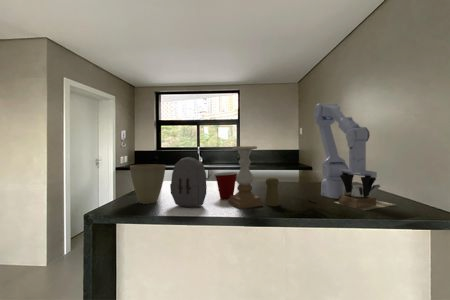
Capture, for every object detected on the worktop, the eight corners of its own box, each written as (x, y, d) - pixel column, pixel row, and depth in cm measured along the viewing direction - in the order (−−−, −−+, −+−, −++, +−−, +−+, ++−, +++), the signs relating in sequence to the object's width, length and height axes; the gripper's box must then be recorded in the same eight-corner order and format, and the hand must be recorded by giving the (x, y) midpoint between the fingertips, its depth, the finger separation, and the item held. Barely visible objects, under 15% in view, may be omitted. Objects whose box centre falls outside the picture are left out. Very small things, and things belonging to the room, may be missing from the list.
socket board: (333, 205, 105) (333, 194, 105) (363, 200, 113) (363, 190, 113) (364, 213, 93) (364, 201, 92) (396, 207, 100) (396, 196, 100)
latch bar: (360, 200, 108) (359, 198, 109) (365, 199, 110) (364, 197, 110) (375, 187, 102) (373, 184, 103) (380, 186, 104) (378, 184, 104)
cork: (279, 206, 104) (279, 178, 103) (264, 205, 105) (264, 178, 105) (279, 203, 110) (279, 176, 109) (265, 202, 111) (265, 176, 111)
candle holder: (239, 209, 100) (238, 146, 100) (227, 203, 110) (226, 146, 110) (263, 206, 105) (263, 146, 104) (250, 200, 115) (249, 146, 114)
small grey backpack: (209, 205, 106) (209, 156, 106) (201, 210, 98) (201, 157, 98) (176, 203, 111) (175, 156, 110) (166, 208, 103) (165, 157, 102)
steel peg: (348, 203, 102) (349, 185, 102) (356, 202, 104) (357, 185, 103) (358, 206, 98) (358, 187, 98) (366, 205, 100) (367, 186, 99)
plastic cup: (223, 195, 127) (223, 170, 127) (242, 197, 121) (242, 171, 120) (209, 199, 118) (209, 172, 118) (229, 202, 112) (228, 174, 112)
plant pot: (153, 207, 104) (152, 167, 104) (122, 204, 109) (122, 166, 109) (172, 199, 118) (172, 164, 118) (144, 197, 123) (144, 163, 123)
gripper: (334, 158, 105) (334, 191, 106) (367, 160, 92) (367, 198, 93) (347, 157, 108) (346, 190, 109) (380, 159, 95) (380, 196, 96)
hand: (357, 194), depth 101 cm, fingers open, 7 cm apart
